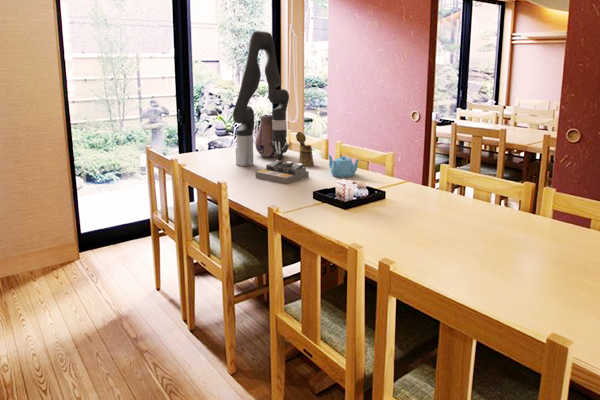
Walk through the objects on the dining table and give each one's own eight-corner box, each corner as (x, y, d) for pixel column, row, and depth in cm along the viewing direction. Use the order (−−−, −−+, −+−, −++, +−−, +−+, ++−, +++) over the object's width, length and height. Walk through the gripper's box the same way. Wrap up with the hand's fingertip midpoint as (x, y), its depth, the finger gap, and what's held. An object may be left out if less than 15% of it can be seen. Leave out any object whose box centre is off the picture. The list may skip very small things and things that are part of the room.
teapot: (353, 171, 281) (353, 153, 278) (360, 178, 267) (361, 158, 264) (326, 172, 279) (327, 154, 276) (332, 179, 265) (333, 159, 262)
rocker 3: (289, 172, 263) (288, 169, 263) (298, 165, 269) (297, 162, 268) (294, 173, 261) (294, 170, 260) (303, 166, 266) (303, 163, 266)
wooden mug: (305, 161, 306) (305, 131, 301) (316, 165, 294) (317, 134, 289) (292, 162, 302) (292, 132, 297) (302, 167, 290) (303, 135, 285)
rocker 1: (268, 168, 272) (267, 165, 271) (278, 162, 277) (277, 159, 276) (273, 169, 269) (273, 166, 269) (283, 163, 275) (282, 160, 274)
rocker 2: (278, 170, 267) (278, 167, 267) (288, 163, 273) (287, 160, 272) (283, 171, 265) (283, 168, 265) (293, 164, 271) (292, 161, 270)
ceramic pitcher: (274, 152, 331) (274, 113, 324) (292, 157, 314) (292, 116, 307) (250, 155, 322) (249, 114, 315) (267, 161, 305) (266, 119, 298)
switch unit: (255, 177, 267) (255, 167, 266) (278, 171, 281) (277, 161, 279) (286, 184, 255) (286, 173, 253) (308, 177, 269) (308, 166, 267)
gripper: (265, 128, 271) (266, 160, 276) (284, 130, 263) (285, 163, 268) (274, 126, 277) (275, 157, 282) (293, 128, 269) (294, 160, 274)
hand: (280, 160), depth 275 cm, fingers closed
